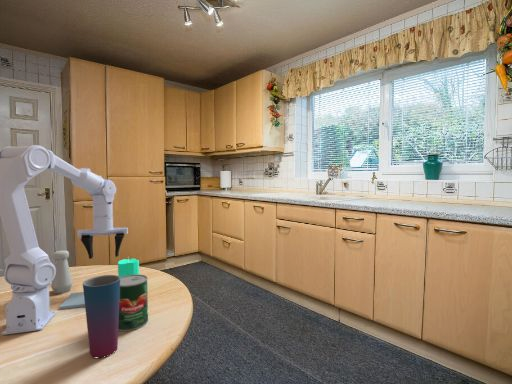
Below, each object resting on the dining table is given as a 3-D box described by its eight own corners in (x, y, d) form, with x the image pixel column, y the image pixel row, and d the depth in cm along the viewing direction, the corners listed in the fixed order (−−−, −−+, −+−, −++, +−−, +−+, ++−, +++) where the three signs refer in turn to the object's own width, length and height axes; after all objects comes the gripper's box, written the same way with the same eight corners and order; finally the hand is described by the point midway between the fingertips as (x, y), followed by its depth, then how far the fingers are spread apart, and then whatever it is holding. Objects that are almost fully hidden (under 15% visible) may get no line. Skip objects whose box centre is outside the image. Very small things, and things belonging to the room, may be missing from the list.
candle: (139, 296, 88) (138, 257, 87) (117, 299, 86) (116, 259, 85) (139, 289, 93) (138, 252, 93) (119, 291, 91) (118, 254, 91)
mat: (99, 304, 82) (99, 302, 82) (59, 309, 79) (59, 306, 79) (107, 291, 91) (107, 289, 91) (71, 295, 88) (71, 293, 88)
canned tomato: (126, 334, 66) (125, 287, 65) (107, 325, 70) (105, 281, 69) (155, 320, 73) (154, 277, 72) (135, 312, 77) (134, 272, 76)
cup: (127, 341, 63) (125, 274, 62) (113, 361, 56) (110, 286, 56) (96, 342, 63) (94, 275, 62) (77, 361, 56) (75, 286, 55)
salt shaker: (77, 288, 95) (76, 249, 94) (63, 294, 89) (62, 253, 88) (60, 287, 95) (59, 248, 95) (46, 294, 89) (45, 253, 89)
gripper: (128, 213, 100) (129, 252, 100) (81, 215, 95) (82, 255, 96) (125, 216, 93) (126, 257, 93) (74, 218, 88) (76, 261, 89)
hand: (104, 256), depth 94 cm, fingers open, 7 cm apart
